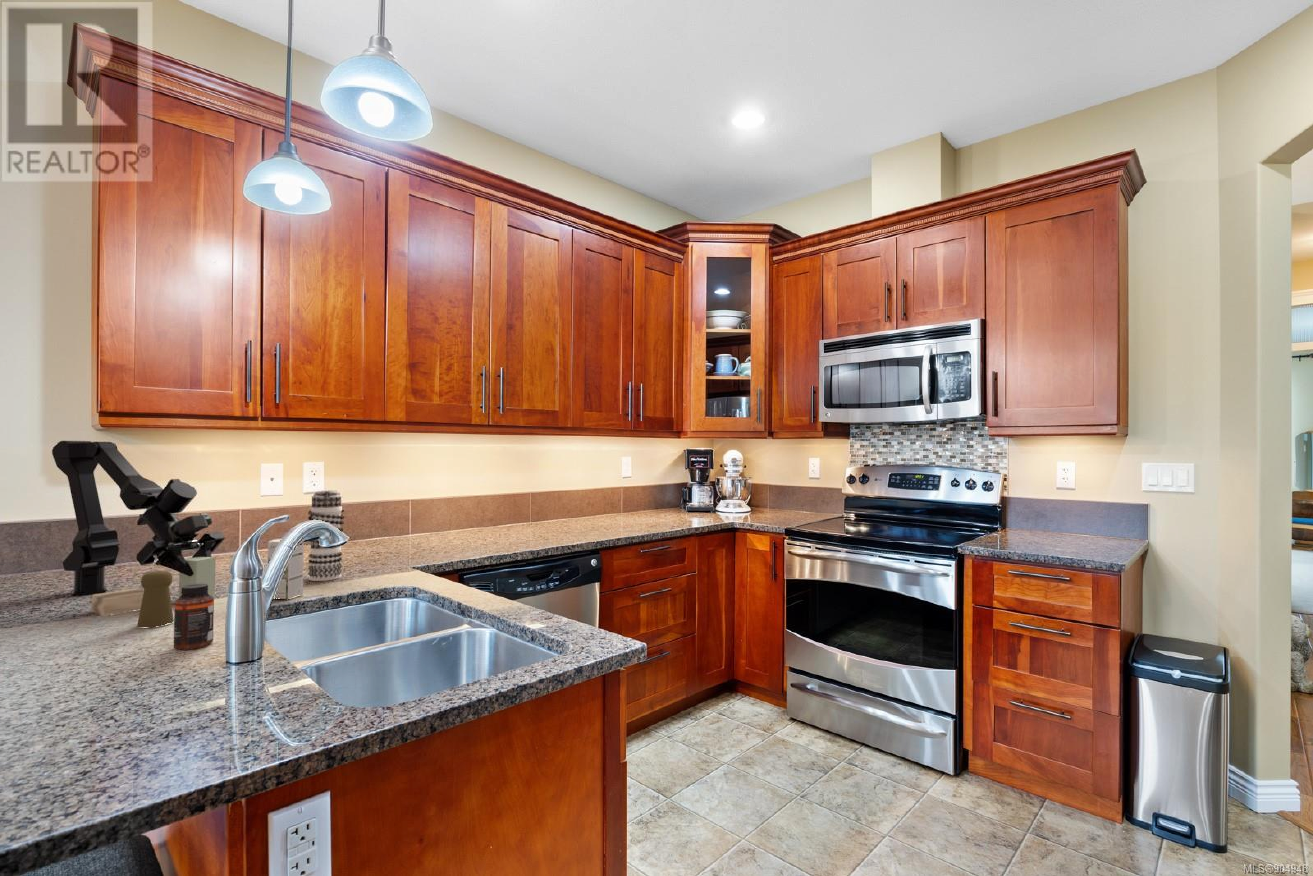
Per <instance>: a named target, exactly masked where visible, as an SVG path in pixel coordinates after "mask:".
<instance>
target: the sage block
mask: <svg viewBox="0 0 1313 876" xmlns="http://www.w3.org/2000/svg"><path fill="white" fill-rule="evenodd" d="M184 559H185V560H186V561H187V563H188V564H189V566H190V567H191V569H192V571H193V573H194V574H193V575H192V576H187V575H185V574H183V573H180V572H178V573H179V574H178V598H180V596H181V595H182V594H181V590H182V589H181V588H182V587H183V586H186V585H191V584H208V594H209V595H211V596H213V598H214V599H215V596H216V595H215V594H216V592H215V591H216V589H215V588H216V564H217V563H216V557H215V556H213V557H212V556H211V557H194V558H192V557H189V558H184Z"/></svg>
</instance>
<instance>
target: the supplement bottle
mask: <svg viewBox="0 0 1313 876" xmlns="http://www.w3.org/2000/svg"><path fill="white" fill-rule="evenodd" d="M181 589H182V590H181V594H182V595H181V596H180V598H179V597H178V598H177V599H176V600H175V602H174V606H173V607H174V612H173V619H174V623H173V647H174V649H175V650H177V651H191V650H197V649H201V648H205V647H208V646H210V645H211V644H212V643H213V642H214V615H215V598H213V596H211V595H209V594H208V584H191V585H186V586H183V587H182V588H181Z"/></svg>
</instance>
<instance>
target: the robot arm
mask: <svg viewBox="0 0 1313 876" xmlns="http://www.w3.org/2000/svg"><path fill="white" fill-rule="evenodd" d="M51 454H52V457H53V460H54V463H55V465H56V467H57V468H58V469H59V470H60V471H61V472H62V473H63V474H64V475H66V477H67V481H68V486H69V490H70V496H71V500H72V505H73V509H74V514H75V519H76V524H77V530H78V531H77V533H76V535H75V536H74V539H73V541H72V550H71V552H70V553H69V554H68V555H67V556H66V557H65V559H64V560H63V561H62V567H63V569H64V571H70V572H74V576H73V579H74V580H73V589H71V590H70V592H71V596H80V595H81V596H82V595H89V594H100V593H106V592H105V591H107V592H108V588H107V587H106V585H105V573H106V569H105V568H106V567H109V566H115V565H116V562H117V558H118V555H119V552H120V545H121V543H120V541H119V537H118V532H117V530H116V529H112V530H110V529H109V528H108V527H107V526H105V520H104V516H103V512H102V506H101V502H100V497H99V493H98V488H97V483H96V482H97V481H96V478H95V477H96V476H95V473H94V472H95V470H96V469H97V466H98V465H99V466H100V467H101V468H102V469H103V470H104V471H105V472H106V474H107V475H108V476H109V477H110V478H111V480H113V482H114V483H115V484H116V485H117V486H118V487H119V489H120V492H119V497H120V499H121V501H122V503H123V504H124V505H125V507H126V508H127V509H128V510H130V511H136V510H137V511H138V510H139V511H140V510H144V512H143V513H142V514H139V516H138V519H137V520H136V521H137V522H136V525H137V526H148V528H149V529H150V530H151V531H152V533H153V534H154V536H152V540H149V541H147V542H146V544H144V546H143V547H142V548H141V549H140V550H139V551H138V552H137V554H136V557H135V558H136V561H137V562H138V563H139V564H140V566H147V565H151V564H153V563H154V562H155V563H154V564H155V565H156V566H161V567H165V568H168V569H169V570H173V571H176V572H178V573H179V572H180V573H183V574H185V575H187V576H192V575H193V574H194V573H193V571H192V569H191V567H190V566H189V564H188V563H187V561H186V560H185V559H186V558H185V557H184V556H183V553H182V552H187V551H190V552H192V554H193V555H192V556H191V558H194V557H212V553H214V551H216V549H217V548H218V547H219V546H220V545H221V544H222V543H223V542H224V540H225V539H226V538H225V536H224V534H223V533H222V532H220V531H214V532H208V533H207V532H206V533H204V534H203V535H202V536H201V537H200V538H199V539H198V540H197V539H194V538H197V536H198V535H199V532H200V531H202V530H203V529H207V528H209V526H210V525H212V523H213V520H212V518H211V516H210V515H209V514H208V513H207V512H204V513H199V515H191V516H186V517H184V518H183V519H179V518H178V516H177V515H176V514H180V513H182V512H183V511H184V510H185V509H186V507H188V506H189V504H190V503H191V502H192V501H193V500H194V499H195V497H196V496H197V495H198V492H197V489H196V488H195V486H192V485H190V484H189V483H187V482H183V481H181V480H180V479H179V478H171V479H170V480H168V482H167V484H166V485H165V487H164V488H163V487H162V486H161V485H158V484H157V482H155V481H153V480H150V479H147V478H145V477H144V476H142V475H141V474H140V473H139V472H138V470H136V468H134V466H133V465H132V464H131V463H130V462H129V460H127V459H126V457H125V456H124V455H123V454H122V453H121V452H120V451H119V450H118V446H117V444H116V443H114V442H112V441H91V440H60V441H58V442H57V443H56V444H55V445H54V446H53V447H52V451H51ZM155 556H156V558H157V560H156V559H155ZM155 560H156V561H155Z"/></svg>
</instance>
